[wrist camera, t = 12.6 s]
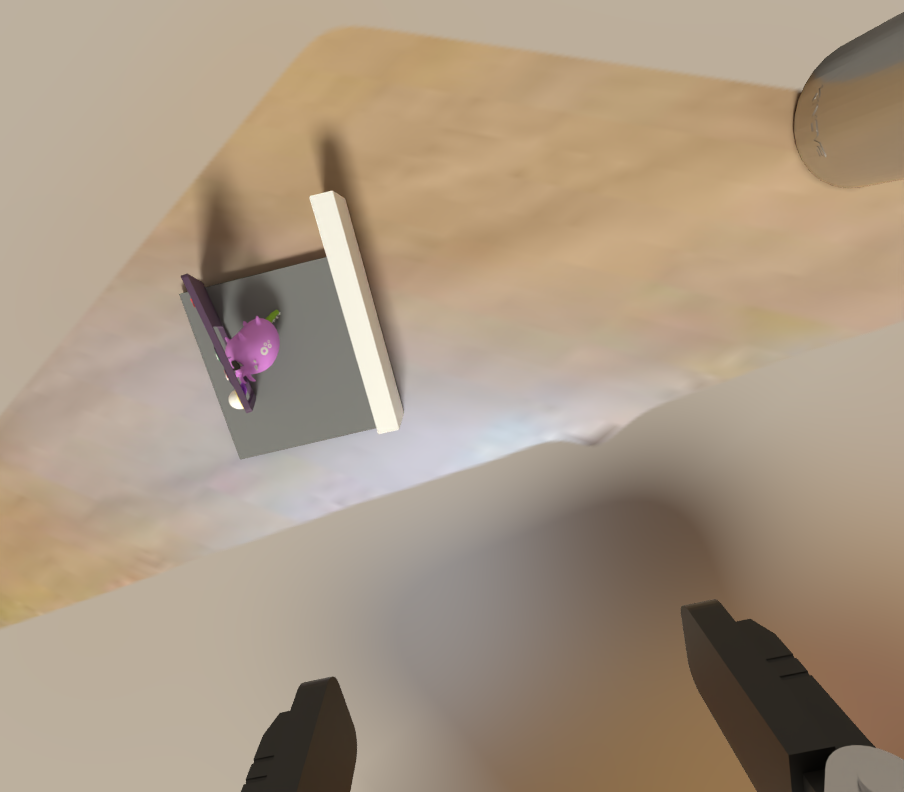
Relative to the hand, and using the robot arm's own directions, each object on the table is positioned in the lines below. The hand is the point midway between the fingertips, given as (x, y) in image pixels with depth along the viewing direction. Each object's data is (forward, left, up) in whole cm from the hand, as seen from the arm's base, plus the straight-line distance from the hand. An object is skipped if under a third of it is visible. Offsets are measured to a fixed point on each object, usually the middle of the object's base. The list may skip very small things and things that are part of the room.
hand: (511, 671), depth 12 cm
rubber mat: (+13, -5, -28) cm, 31 cm away
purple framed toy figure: (+14, -8, -28) cm, 32 cm away
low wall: (+6, -7, -28) cm, 30 cm away
